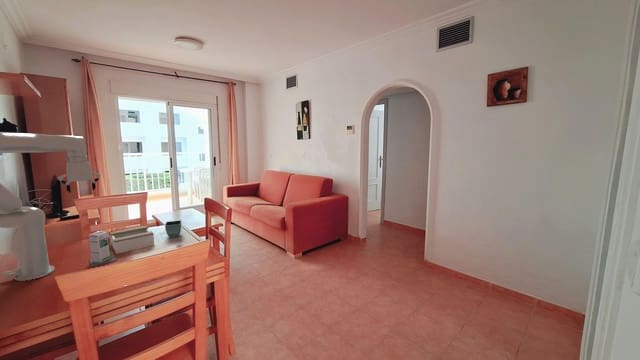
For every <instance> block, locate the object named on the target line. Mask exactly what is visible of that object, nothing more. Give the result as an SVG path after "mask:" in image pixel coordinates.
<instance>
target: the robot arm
mask: <svg viewBox="0 0 640 360" xmlns="http://www.w3.org/2000/svg"><path fill="white" fill-rule="evenodd" d="M49 152H67V157H64V161H67V162H66V173H64V174H62V175H60V176H58V177H57V179H58V181H59V182H60V183H61V184H63V185H65V186H66V191H67V192H68V193H69V194H71V193H72V191H71V182H85V181H86V182H87V181H90V182H91V189H92V191H95V189H96V188H97V187H96V183H97V182H98V181H99V180H100V179H101V176H102V175H101V174H100V173H97V172H93V170H92V166H91V163H90V162H89V161H88V155H87V147H86V139H85V138H84V136H80V135H79V136H78V135H77V136H75V135H55V134H42V133H30V132H28V133H27V132H11V131H10V132H7V131H0V154H9V153H10V154H14V153H15V154H16V153H20V154H21V153H49ZM93 175H94V176H96V177H95V179H94V178H93ZM64 178H66V179H67V181H65V180H64ZM45 222H46V214H45V212H44V211H43V210H42V209H40V208H39V207H34V206H23V201H22V199H21V198H20V197H19V196H18V195H17V194H16V193H14V192H13V191H11V190H10V189H8V188H7V187H6V186H4V185H3V184H2V183H1V182H0V229H16V232H15V234H14V236H13V244H14V251H15V257H16V262H17V268H14V269H13V270H7V271H3V277H7V278H8V277H14V280H15V281H16V282H17V281H18V282H26V280H27V281H31V280H32V279H33V280H35V279H36V278H37V279H40V278H43V277H46V276H48V275H49V274H50V275H51V274H52V273H53V272H55V269H56V268H55V266H53V265H50V260H49V254H48V245H47V241H46V234H45V224H46V223H45ZM33 280H32V281H33Z"/></svg>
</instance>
